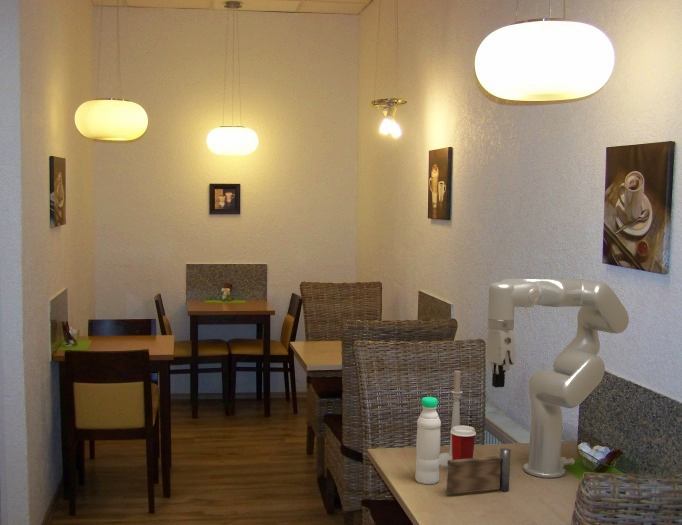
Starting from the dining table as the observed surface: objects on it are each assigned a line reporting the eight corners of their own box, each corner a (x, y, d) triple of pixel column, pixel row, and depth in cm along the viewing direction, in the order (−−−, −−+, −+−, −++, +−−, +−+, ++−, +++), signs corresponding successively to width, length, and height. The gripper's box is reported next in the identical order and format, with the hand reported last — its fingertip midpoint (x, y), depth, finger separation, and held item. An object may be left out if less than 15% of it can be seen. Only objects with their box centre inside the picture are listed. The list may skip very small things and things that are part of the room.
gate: (496, 486, 237) (497, 455, 236) (500, 488, 235) (501, 458, 234) (446, 491, 232) (447, 460, 231) (449, 493, 230) (450, 462, 229)
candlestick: (437, 454, 268) (440, 364, 266) (476, 458, 265) (480, 367, 262) (431, 466, 256) (434, 372, 253) (472, 471, 252) (475, 375, 250)
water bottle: (437, 486, 239) (440, 402, 237) (413, 483, 240) (416, 400, 238) (439, 477, 246) (442, 396, 243) (416, 475, 247) (419, 394, 245)
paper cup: (476, 470, 253) (478, 426, 251) (472, 478, 245) (473, 433, 244) (451, 467, 255) (453, 423, 254) (446, 475, 248) (448, 430, 247)
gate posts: (506, 488, 238) (508, 447, 237) (510, 491, 235) (512, 451, 234) (446, 490, 235) (447, 449, 234) (449, 493, 233) (450, 452, 232)
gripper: (524, 328, 232) (522, 392, 234) (500, 320, 246) (498, 380, 248) (500, 329, 230) (498, 393, 232) (477, 321, 244) (475, 381, 246)
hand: (498, 386), depth 240 cm, fingers closed
